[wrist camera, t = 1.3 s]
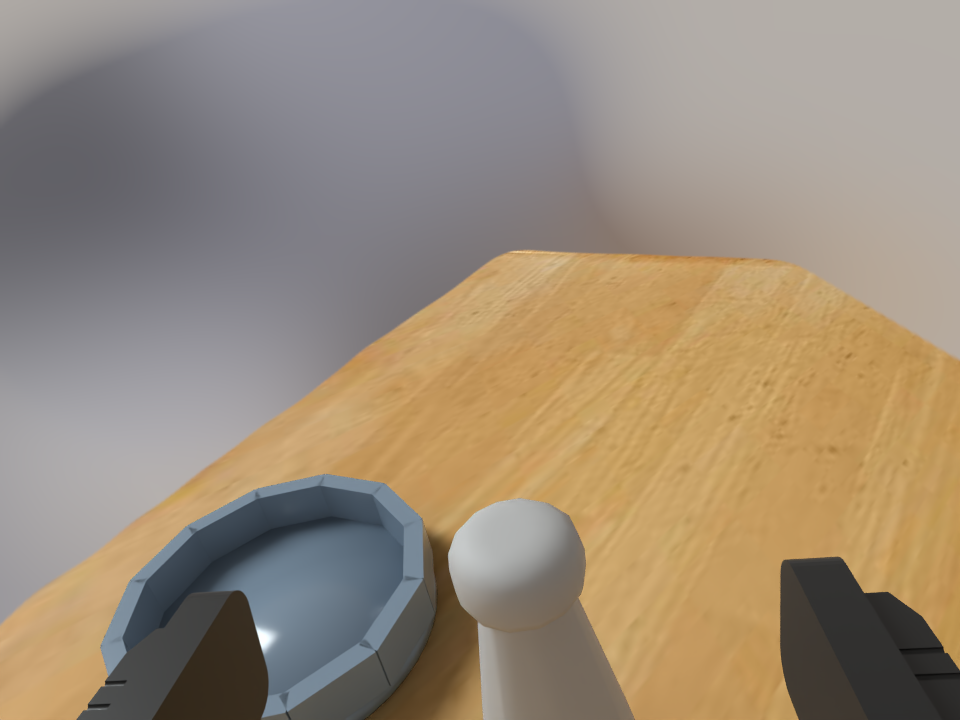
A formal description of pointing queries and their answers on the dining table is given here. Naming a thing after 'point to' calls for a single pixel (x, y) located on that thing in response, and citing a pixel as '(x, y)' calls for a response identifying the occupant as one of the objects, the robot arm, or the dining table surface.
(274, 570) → the bowl
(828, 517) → the dining table surface
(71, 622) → the dining table surface
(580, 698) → the salt shaker
